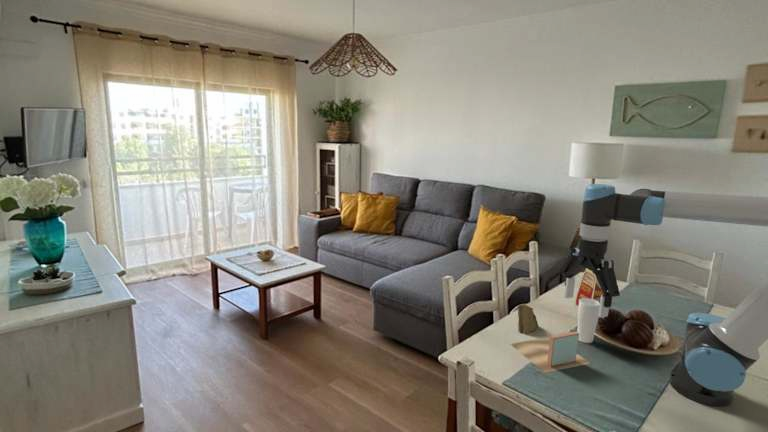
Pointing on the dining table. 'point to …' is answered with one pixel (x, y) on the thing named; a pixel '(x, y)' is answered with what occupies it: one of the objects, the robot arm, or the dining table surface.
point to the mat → (543, 354)
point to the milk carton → (588, 288)
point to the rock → (526, 319)
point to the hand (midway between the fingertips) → (584, 306)
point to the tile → (563, 348)
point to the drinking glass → (587, 319)
